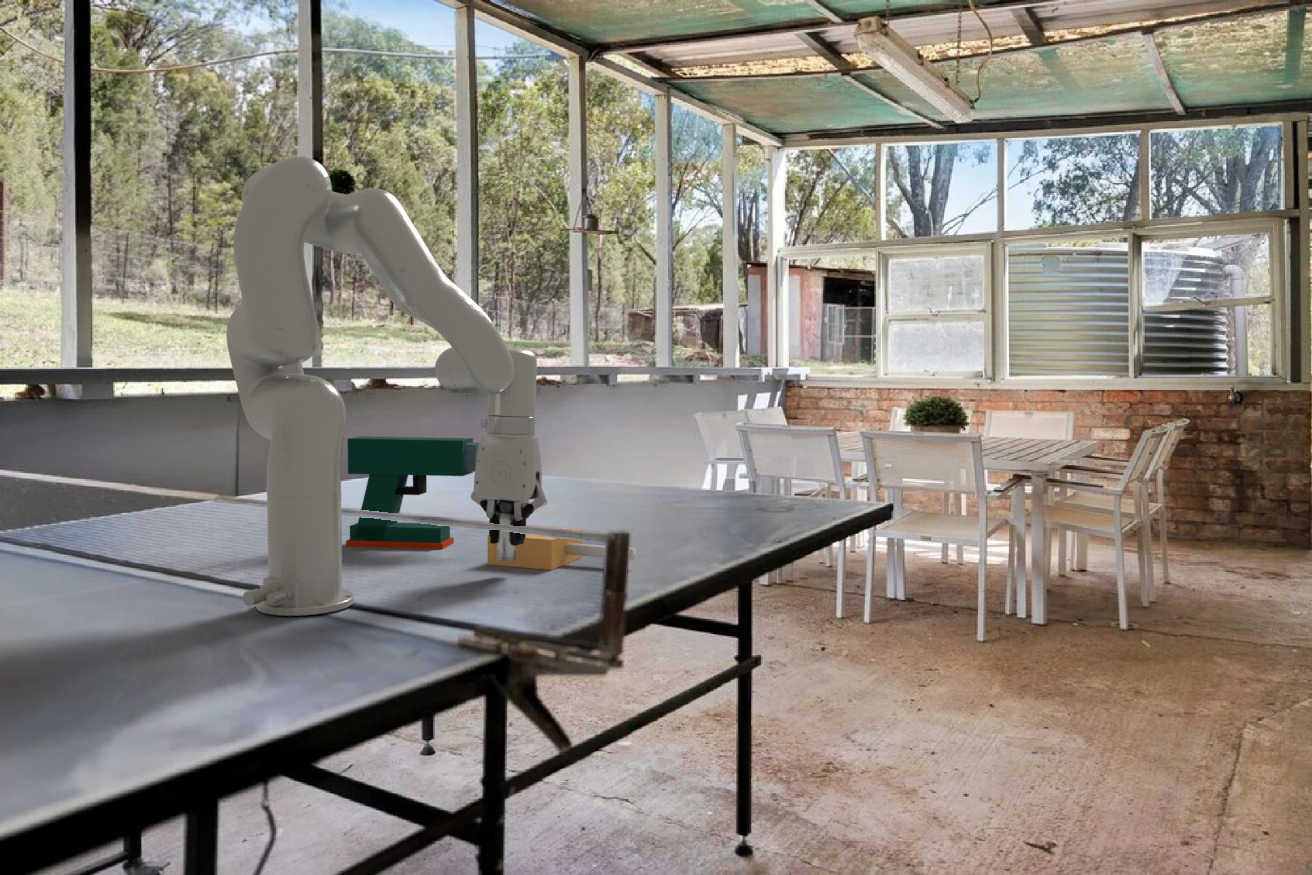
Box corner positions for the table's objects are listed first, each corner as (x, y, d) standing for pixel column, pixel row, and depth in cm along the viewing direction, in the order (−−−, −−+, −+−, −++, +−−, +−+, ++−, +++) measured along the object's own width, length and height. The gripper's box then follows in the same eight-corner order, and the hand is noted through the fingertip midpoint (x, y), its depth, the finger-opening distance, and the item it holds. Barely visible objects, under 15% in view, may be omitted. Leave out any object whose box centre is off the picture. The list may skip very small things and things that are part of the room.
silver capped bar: (510, 561, 150) (512, 498, 150) (493, 560, 151) (495, 497, 151) (519, 559, 153) (521, 496, 153) (502, 557, 154) (504, 495, 154)
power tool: (524, 544, 181) (524, 438, 180) (515, 551, 174) (515, 441, 173) (361, 540, 184) (360, 436, 183) (345, 546, 177) (344, 438, 176)
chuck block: (619, 576, 153) (619, 545, 153) (487, 564, 162) (487, 534, 161) (646, 562, 164) (646, 533, 164) (521, 552, 173) (521, 524, 172)
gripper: (453, 425, 151) (449, 542, 152) (546, 430, 145) (542, 551, 146) (477, 425, 158) (474, 536, 159) (567, 430, 152) (563, 545, 153)
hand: (507, 542), depth 152 cm, fingers closed on silver capped bar, 3 cm apart
